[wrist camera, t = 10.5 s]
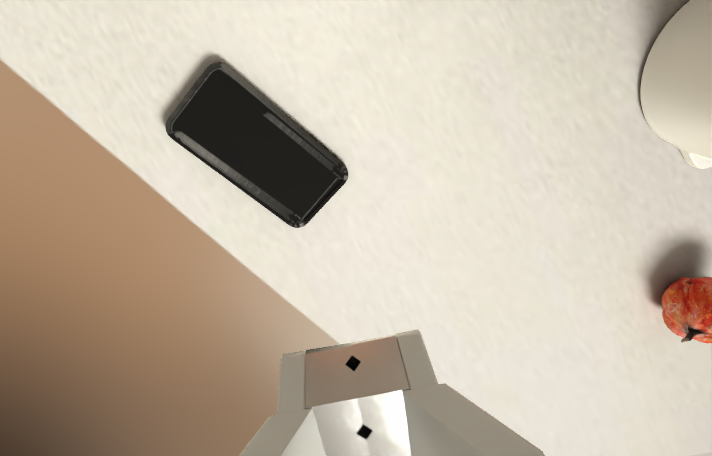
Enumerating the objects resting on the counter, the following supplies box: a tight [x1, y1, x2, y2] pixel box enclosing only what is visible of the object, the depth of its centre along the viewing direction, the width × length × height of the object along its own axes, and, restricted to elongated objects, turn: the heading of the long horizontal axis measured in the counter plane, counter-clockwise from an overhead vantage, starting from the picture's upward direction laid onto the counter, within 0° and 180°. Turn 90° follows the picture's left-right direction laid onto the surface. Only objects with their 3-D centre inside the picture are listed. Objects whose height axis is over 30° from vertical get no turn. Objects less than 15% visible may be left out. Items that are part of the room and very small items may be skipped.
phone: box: [166, 62, 348, 228], centre depth 41 cm, size 8×1×15 cm
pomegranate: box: [662, 277, 712, 343], centre depth 51 cm, size 7×7×10 cm
